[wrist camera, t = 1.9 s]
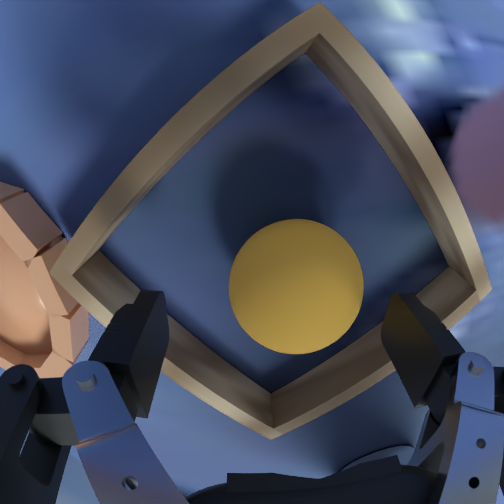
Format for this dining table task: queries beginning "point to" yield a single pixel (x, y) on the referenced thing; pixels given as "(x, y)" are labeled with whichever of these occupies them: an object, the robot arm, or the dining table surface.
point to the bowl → (35, 291)
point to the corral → (200, 123)
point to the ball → (296, 286)
